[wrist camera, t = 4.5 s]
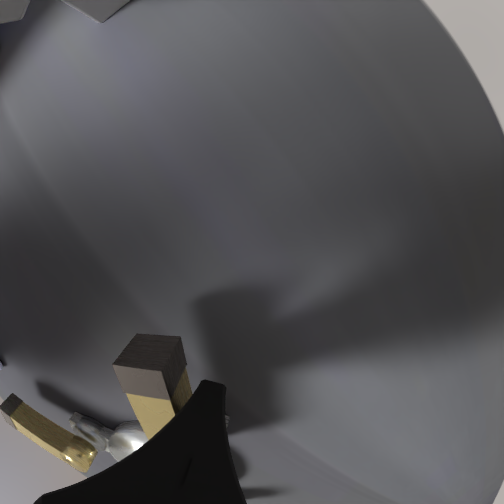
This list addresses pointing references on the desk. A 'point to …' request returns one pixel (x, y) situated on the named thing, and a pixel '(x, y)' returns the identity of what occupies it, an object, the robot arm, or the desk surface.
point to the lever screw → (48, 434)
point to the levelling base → (112, 435)
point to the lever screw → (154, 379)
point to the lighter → (88, 3)
